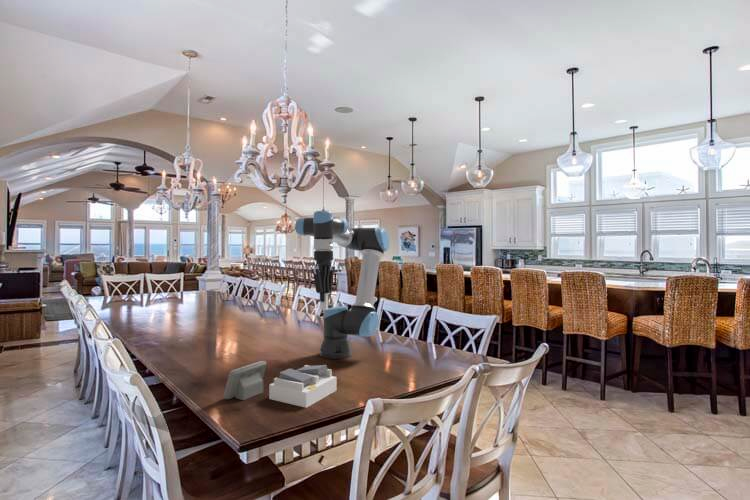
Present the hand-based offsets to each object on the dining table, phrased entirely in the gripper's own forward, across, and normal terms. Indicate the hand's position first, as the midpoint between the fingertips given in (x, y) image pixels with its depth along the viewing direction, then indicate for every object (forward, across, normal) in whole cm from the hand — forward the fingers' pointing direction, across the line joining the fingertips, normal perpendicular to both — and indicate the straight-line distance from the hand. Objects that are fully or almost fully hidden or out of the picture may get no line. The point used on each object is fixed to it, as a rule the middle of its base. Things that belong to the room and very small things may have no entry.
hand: (324, 309), depth 161 cm
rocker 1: (+21, -22, -3) cm, 30 cm away
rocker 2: (+21, -13, -3) cm, 25 cm away
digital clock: (+28, -27, +16) cm, 42 cm away
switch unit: (+27, -18, -3) cm, 33 cm away
